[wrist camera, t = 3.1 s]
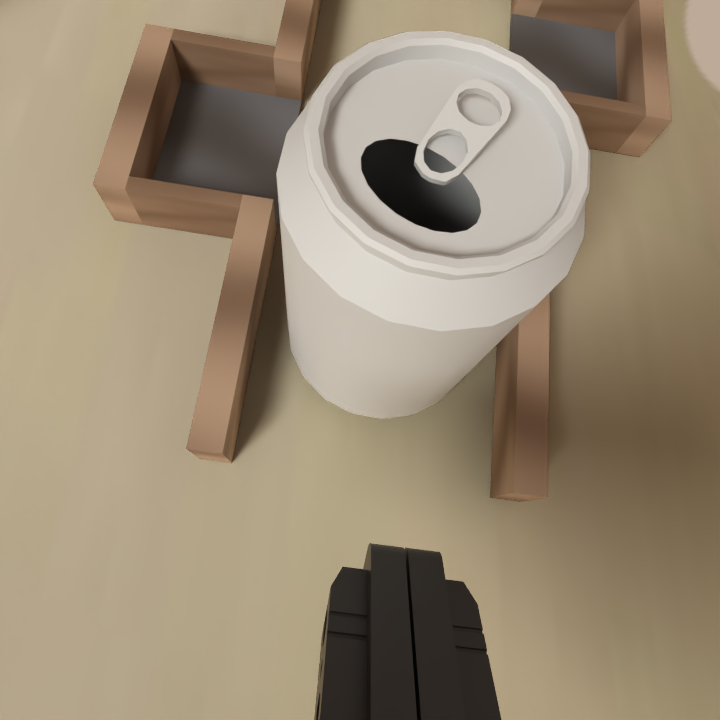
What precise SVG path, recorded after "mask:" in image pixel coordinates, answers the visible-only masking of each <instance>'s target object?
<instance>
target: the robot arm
mask: <svg viewBox="0 0 720 720" xmlns="http://www.w3.org/2000/svg"><path fill="white" fill-rule="evenodd" d="M486 651H487V648H486V643H485V638H484V634H482V624H481V619H480V614H479V609H478V604H477V603H476V601H475V600H474V598H473V596H472V595H471V593H470V592H469V590H468V589H467V587H466V585H465V584H464V582H461V581H453V580H445V574H444V568H443V561H442V556H441V554H440V552H434V551H426V550H419V549H411V548H405V549H404V548H402V547H394V546H386V545H378V544H371V543H370V544H369V546H368V550H367V554H366V559H365V563H364V568H363V569H356V568H348V567H342V569H341V571H340V572H339V574H338V575H337V577H336V579H335V580H334V582H333V584H332V585H331V589H330V594H329V600H328V605H327V611H326V616H325V622H324V628H323V633H322V642H321V653H320V664H319V674H318V686H317V696H316V707H315V718H314V720H501V716H500V711H499V706H498V701H497V697H496V692H495V687H494V682H493V677H492V672H491V668H490V663H489V658H488V655H487V653H486Z"/></svg>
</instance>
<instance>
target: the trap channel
mask: <svg viewBox="0 0 720 720" xmlns="http://www.w3.org/2000/svg"><path fill="white" fill-rule="evenodd" d="M321 2H322V0H286V3H285V7H284V12H283V16H282V21H281V25H280V30H279V34H278V39H277V43H276V47H274V46H268V45H262V44H257V43H251V42H245V41H240V40H234V39H229V38H223V37H217V36H212V35H206V34H200V33H195V32H189V31H183V30H178V29H172V28H166V27H161V26H155V25H150V24H145V27H144V30H143V33H142V37H141V40H140V43H139V46H138V49H137V52H136V55H135V58H134V61H133V64H132V67H131V70H130V73H129V76H128V79H127V82H126V85H125V88H124V91H123V94H122V97H121V100H120V103H119V106H118V110H117V113H116V116H115V119H114V122H113V125H112V128H111V131H110V134H109V137H108V140H107V143H106V146H105V149H104V152H103V155H102V158H101V161H100V164H99V167H98V170H97V173H96V176H95V179H94V183H93V185H94V186H95V188H96V190H97V191H98V193H99V195H100V196H101V198H102V200H103V201H104V203H105V205H106V206H107V208H108V210H109V211H110V213H111V215H112V216H113V218H114V220H117V221H124V222H130V223H137V224H143V225H149V226H156V227H162V228H168V229H175V230H181V231H188V232H194V233H200V234H207V235H213V236H220V237H226V238H232V239H233V241H232V245H231V250H230V254H229V259H228V263H227V268H226V272H225V277H224V281H223V286H222V290H221V295H220V299H219V303H218V308H217V312H216V317H215V321H214V326H213V330H212V335H211V339H210V344H209V348H208V353H207V357H206V362H205V366H204V371H203V375H202V380H201V384H200V389H199V393H198V398H197V402H196V407H195V411H194V416H193V420H192V425H191V429H190V434H189V438H188V443H187V447H186V449H187V450H189V451H190V452H192V453H193V454H194V455H196V456H197V457H198V458H200V459H206V460H214V461H221V462H229V463H232V459H233V454H234V449H235V444H236V439H237V434H238V428H239V423H240V418H241V413H242V408H243V403H244V398H245V392H246V387H247V382H248V377H249V372H250V367H251V362H252V356H253V351H254V346H255V341H256V336H257V331H258V326H259V320H260V315H261V310H262V305H263V300H264V295H265V290H266V284H267V279H268V274H269V269H270V264H271V259H272V254H273V248H274V243H275V238H276V233H277V228H278V223H279V218H280V216H279V203H278V190H277V177H276V172H277V169H278V165H279V161H280V157H281V153H282V149H283V145H284V142H285V138H286V134H287V132H288V131H289V129H290V128H291V126H292V125H293V124H294V122H295V121H296V119H297V118H298V117H299V115H300V110H301V104H302V99H303V94H304V89H305V84H306V79H307V74H308V68H309V63H310V58H311V53H312V48H313V43H314V38H315V32H316V27H317V22H318V17H319V12H320V7H321ZM509 51H511V52H513V53H515V54H517V55H519V56H521V57H523V58H524V59H526V60H527V61H528V62H529V63H530V64H532V65H533V66H534V67H535V68H537V69H538V70H539V71H540V72H541V73H543V74H544V75H545V76H546V77H547V78H549V79H550V80H551V81H552V82H554V83H555V84H556V86H557V87H558V89H559V90H560V91H561V93H562V94H563V96H564V97H565V99H566V100H567V101H568V103H569V104H570V106H571V107H572V108H573V110H574V111H575V113H576V114H577V115H578V117H579V119H580V123H581V126H582V129H583V132H584V135H585V138H586V141H587V144H588V147H589V148H590V149H596V150H602V151H607V152H613V153H619V154H625V155H631V156H636V157H640V156H641V154H642V153H643V152H644V151H645V150H646V149H647V148H648V147H649V145H650V144H651V143H652V142H653V141H654V140H655V139H656V138H657V136H658V135H659V134H660V133H661V132H662V131H663V130H664V129H665V127H666V126H667V125H668V124H669V123H670V122H671V121H672V119H671V106H670V93H669V80H668V67H667V54H666V41H665V28H664V15H663V2H662V0H512V2H511V25H510V48H509ZM549 318H550V292H549V293H548V294H547V295H546V296H545V297H544V298H543V299H542V300H541V301H540V302H539V303H538V304H537V305H536V306H535V307H534V308H533V309H532V310H531V311H530V312H529V313H528V314H527V315H526V316H525V317H524V318H523V319H522V320H521V321H520V322H519V323H518V324H517V325H516V326H515V327H514V328H513V329H512V330H511V331H510V332H509V333H508V334H507V335H506V336H505V337H504V338H503V339H502V340H501V341H500V342H499V343H498V344H497V351H496V374H495V397H494V421H493V444H492V467H491V490H490V498H498V499H505V500H513V501H527V500H533V499H540V498H546V497H548V416H549Z"/></svg>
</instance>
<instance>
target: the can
mask: <svg viewBox="0 0 720 720" xmlns="http://www.w3.org/2000/svg"><path fill="white" fill-rule="evenodd" d="M590 158H591V153H590V150H589V147H588V144H587V141H586V138H585V135H584V132H583V129H582V126H581V123H580V119H579V117H578V115H577V114H576V113H575V111H574V110H573V108H572V107H571V106H570V104H569V103H568V101H567V100H566V99H565V97H564V96H563V94H562V93H561V91H560V90H559V89H558V87H557V86H556V84H555V83H554V82H552V81H551V80H550V79H549V78H547V77H546V76H545V75H544V74H543V73H541V72H540V71H539V70H538V69H537V68H535V67H534V66H533V65H532V64H530V63H529V62H528V61H527V60H526V59H524V58H523V57H521V56H519V55H517V54H515V53H513V52H511V51H509V50H507V49H505V48H502V47H500V46H498V45H496V44H494V43H492V42H490V41H488V40H486V39H481V38H476V37H472V36H467V35H463V34H458V33H453V32H449V31H424V32H403V33H400V34H396V35H393V36H390V37H386V38H383V39H380V40H376V41H373V42H370V43H367V44H364V45H363V46H362V47H360V48H359V49H357V50H356V51H354V52H353V53H351V54H350V55H348V56H347V57H345V58H344V59H342V60H341V61H339V62H338V63H337V64H335V65H334V66H333V67H332V69H331V70H330V71H329V73H328V74H327V76H326V77H325V78H324V80H323V81H322V83H321V84H320V85H319V87H318V88H317V89H316V91H315V92H314V94H313V95H312V98H311V100H310V101H309V103H308V104H307V105H306V107H305V108H304V110H303V111H302V112H301V114H300V115H299V117H298V118H297V119H296V121H295V122H294V124H293V125H292V126H291V128H290V129H289V131H288V132H287V134H286V138H285V142H284V145H283V149H282V153H281V157H280V161H279V165H278V169H277V172H276V177H277V190H278V203H279V216H280V229H281V242H282V255H283V268H284V281H285V294H286V307H287V320H288V330H289V338H290V347H291V352H292V354H293V356H294V358H295V360H296V362H297V365H298V367H299V369H300V371H301V373H302V375H303V377H304V378H305V379H306V380H307V381H308V382H309V383H310V384H311V385H312V386H313V388H314V389H315V390H316V391H317V392H318V393H319V394H320V395H321V396H322V397H323V398H324V399H326V400H327V401H329V402H331V403H333V404H335V405H337V406H339V407H340V408H342V409H344V410H346V411H348V412H350V413H352V414H357V415H362V416H368V417H373V418H379V419H387V418H395V417H402V416H410V415H413V414H416V413H418V412H420V411H422V410H424V409H426V408H428V407H430V406H432V405H434V404H436V403H438V402H439V401H440V400H441V399H442V398H443V397H444V396H445V395H446V394H447V393H448V392H449V391H450V390H451V389H452V388H453V387H454V386H455V385H456V384H457V383H458V382H459V381H460V380H461V379H462V378H463V377H465V376H466V375H467V374H468V373H469V372H470V371H471V370H472V369H473V368H474V367H475V366H476V365H477V364H478V363H479V362H480V361H481V360H482V359H483V358H484V357H485V356H486V355H487V354H488V353H489V352H490V351H491V350H492V349H493V348H494V347H495V346H496V345H497V344H498V343H499V342H500V341H501V340H502V339H503V338H504V337H505V336H506V335H507V334H508V333H509V332H510V331H511V330H512V329H513V328H514V327H515V326H516V325H517V324H518V323H519V322H520V321H521V320H522V319H523V318H524V317H525V316H526V315H527V314H528V313H529V312H530V311H531V310H532V309H533V308H534V307H535V306H536V305H537V304H538V303H539V302H540V301H541V300H542V299H543V298H544V297H545V296H546V295H547V294H548V293H549V292H550V291H551V290H552V289H553V288H554V287H555V286H556V285H557V284H558V283H559V282H560V281H561V280H562V279H563V278H564V277H565V276H566V275H567V274H568V272H569V270H570V267H571V265H572V263H573V261H574V258H575V256H576V254H577V251H578V249H579V247H580V244H581V242H582V240H583V238H584V227H585V200H586V198H587V195H588V193H589V187H590Z"/></svg>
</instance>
